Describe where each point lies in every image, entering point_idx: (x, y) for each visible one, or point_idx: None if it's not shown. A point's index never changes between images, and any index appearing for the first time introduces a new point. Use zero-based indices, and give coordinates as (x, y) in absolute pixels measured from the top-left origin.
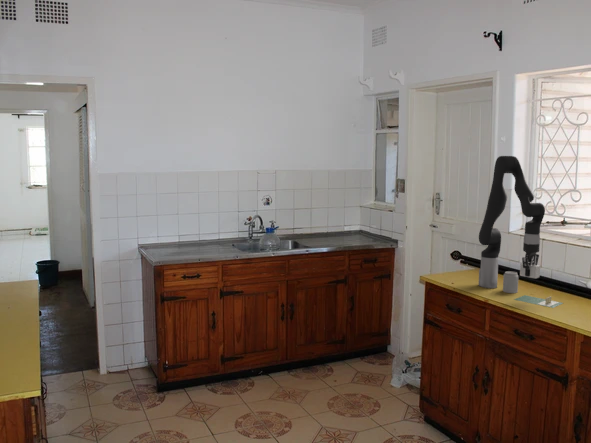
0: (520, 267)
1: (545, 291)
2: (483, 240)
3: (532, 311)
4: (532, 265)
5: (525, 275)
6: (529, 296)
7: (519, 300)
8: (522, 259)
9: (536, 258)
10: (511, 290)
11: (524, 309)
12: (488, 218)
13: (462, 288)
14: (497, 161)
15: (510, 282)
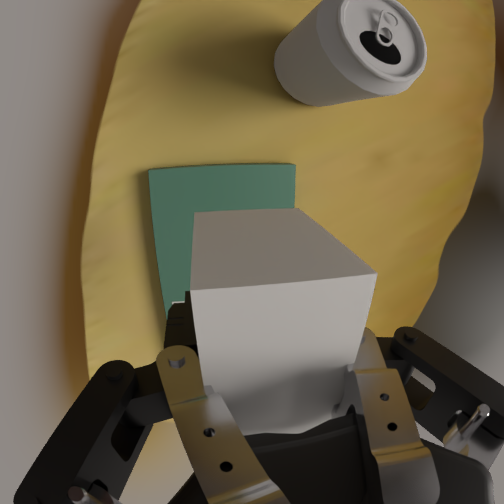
0: (193, 258)
1: (446, 190)
2: None
3: (96, 310)
4: (260, 429)
5: (186, 294)
6: (286, 198)
7: (156, 204)
8: (23, 488)
9: (443, 432)
10: (289, 82)
11: (89, 275)
12: None
13: None
14: None
15: (304, 61)
